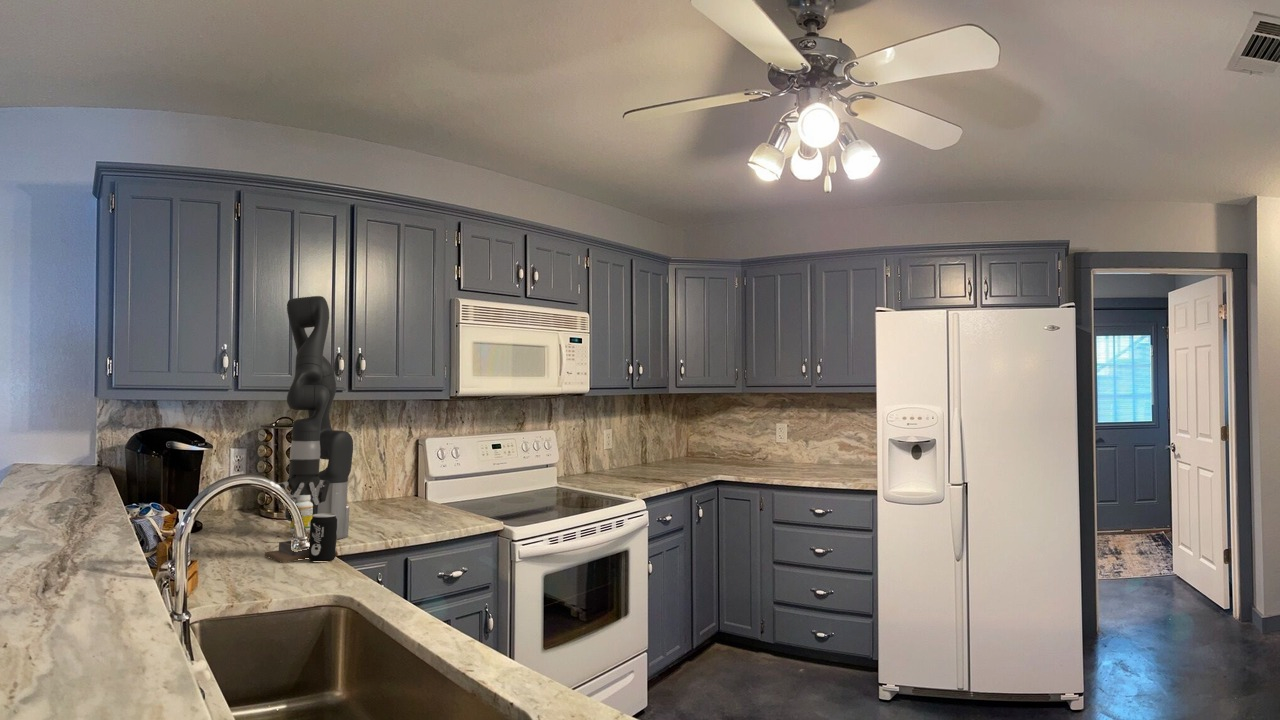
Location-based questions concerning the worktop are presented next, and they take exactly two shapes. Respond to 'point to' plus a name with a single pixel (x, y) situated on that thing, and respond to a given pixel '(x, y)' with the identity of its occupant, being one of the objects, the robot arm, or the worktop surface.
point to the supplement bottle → (304, 510)
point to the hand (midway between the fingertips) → (301, 519)
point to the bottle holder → (287, 553)
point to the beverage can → (323, 537)
